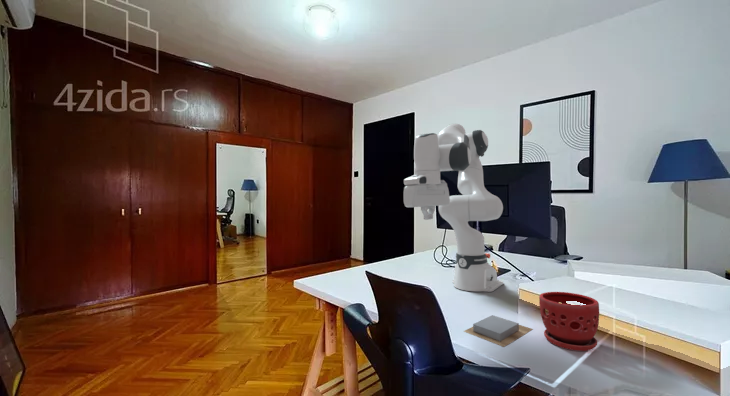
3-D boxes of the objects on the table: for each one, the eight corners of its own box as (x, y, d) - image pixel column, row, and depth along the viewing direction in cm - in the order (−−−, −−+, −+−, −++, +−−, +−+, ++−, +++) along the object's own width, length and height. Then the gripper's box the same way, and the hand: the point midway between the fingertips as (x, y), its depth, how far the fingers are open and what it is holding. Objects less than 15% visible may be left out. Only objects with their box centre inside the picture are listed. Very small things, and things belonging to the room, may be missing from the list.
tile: (492, 315, 94) (473, 324, 88) (518, 323, 88) (500, 333, 82) (492, 322, 94) (473, 331, 88) (518, 330, 88) (500, 341, 82)
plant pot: (610, 346, 79) (609, 299, 79) (581, 361, 73) (580, 310, 72) (558, 328, 90) (557, 287, 90) (529, 338, 84) (528, 294, 84)
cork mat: (493, 318, 98) (493, 316, 98) (533, 331, 89) (533, 329, 89) (463, 333, 88) (463, 331, 88) (503, 349, 79) (503, 346, 79)
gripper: (439, 180, 117) (440, 217, 117) (400, 179, 104) (401, 221, 104) (453, 179, 112) (454, 217, 112) (413, 178, 99) (414, 222, 99)
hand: (428, 219), depth 108 cm, fingers closed
